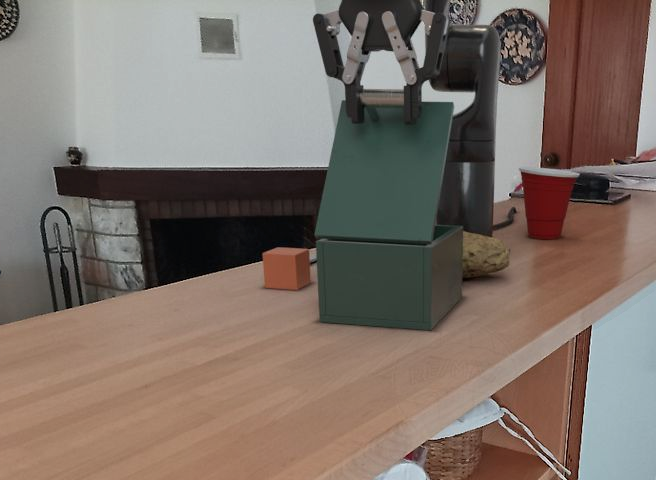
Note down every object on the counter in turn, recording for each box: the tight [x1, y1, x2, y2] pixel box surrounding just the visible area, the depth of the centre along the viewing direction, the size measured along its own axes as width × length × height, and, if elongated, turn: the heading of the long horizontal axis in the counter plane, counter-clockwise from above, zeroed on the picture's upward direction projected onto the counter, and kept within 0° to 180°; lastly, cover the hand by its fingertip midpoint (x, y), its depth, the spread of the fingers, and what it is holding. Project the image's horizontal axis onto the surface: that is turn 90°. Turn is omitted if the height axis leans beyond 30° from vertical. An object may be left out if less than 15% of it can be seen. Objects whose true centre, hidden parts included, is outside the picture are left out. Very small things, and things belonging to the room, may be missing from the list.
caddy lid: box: [313, 88, 455, 244], centre depth 81 cm, size 16×13×5 cm
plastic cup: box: [518, 166, 581, 240], centre depth 140 cm, size 11×11×12 cm
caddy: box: [315, 225, 463, 331], centre depth 90 cm, size 16×13×9 cm
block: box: [262, 246, 312, 291], centre depth 101 cm, size 4×4×4 cm
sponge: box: [462, 231, 511, 279], centre depth 107 cm, size 13×8×20 cm
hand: (383, 122), depth 81 cm, fingers closed on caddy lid, 5 cm apart
